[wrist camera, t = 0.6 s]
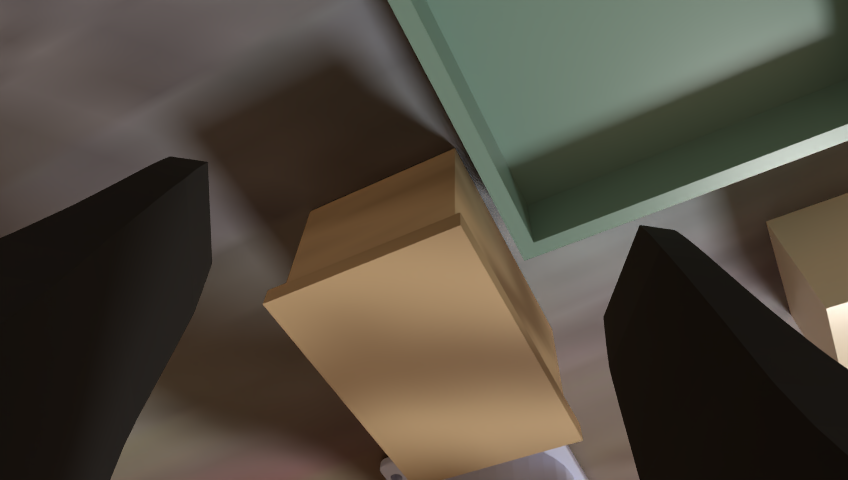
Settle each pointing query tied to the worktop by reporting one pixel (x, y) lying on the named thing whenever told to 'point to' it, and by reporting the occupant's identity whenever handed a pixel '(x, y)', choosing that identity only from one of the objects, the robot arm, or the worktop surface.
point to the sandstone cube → (816, 271)
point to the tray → (628, 99)
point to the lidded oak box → (426, 324)
